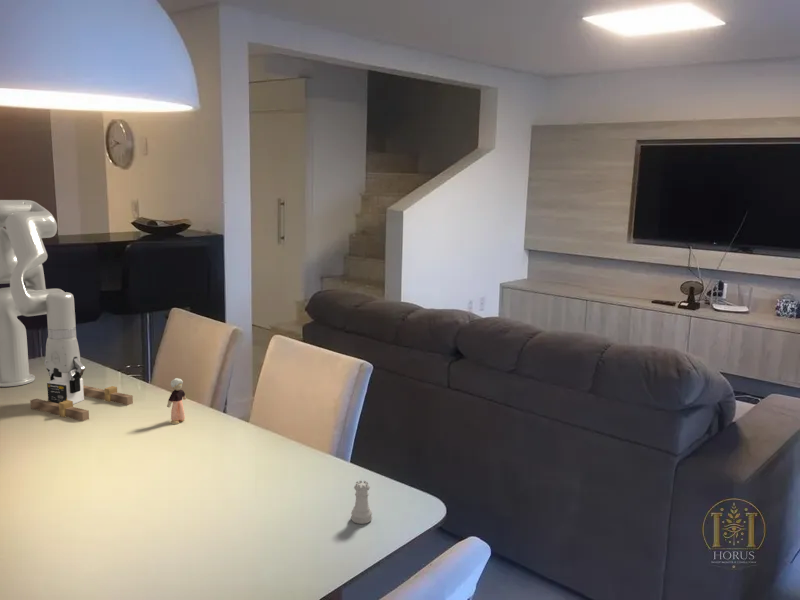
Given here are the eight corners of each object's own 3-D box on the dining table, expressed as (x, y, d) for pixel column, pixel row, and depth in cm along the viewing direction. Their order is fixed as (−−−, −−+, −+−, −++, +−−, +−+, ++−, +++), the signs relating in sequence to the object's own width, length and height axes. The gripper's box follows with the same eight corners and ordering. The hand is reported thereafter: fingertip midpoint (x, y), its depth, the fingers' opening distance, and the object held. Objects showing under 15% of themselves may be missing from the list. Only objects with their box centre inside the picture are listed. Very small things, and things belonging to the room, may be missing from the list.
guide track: (29, 408, 204) (28, 395, 203) (83, 392, 221) (82, 380, 220) (81, 421, 194) (80, 407, 194) (134, 403, 211) (133, 390, 211)
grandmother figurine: (178, 426, 192) (176, 382, 190) (165, 425, 193) (163, 381, 191) (190, 417, 200) (189, 374, 198) (178, 416, 201) (177, 374, 198)
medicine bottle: (47, 404, 208) (45, 365, 206) (65, 397, 215) (63, 360, 213) (67, 407, 206) (64, 368, 204) (84, 400, 213) (82, 362, 211)
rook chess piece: (360, 512, 145) (361, 476, 144) (376, 519, 142) (377, 482, 141) (346, 519, 142) (346, 483, 140) (362, 527, 139) (362, 489, 137)
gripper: (31, 332, 207) (35, 388, 210) (71, 339, 200) (75, 397, 203) (53, 328, 214) (56, 382, 217) (93, 334, 206) (96, 391, 209)
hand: (65, 389), depth 210 cm, fingers closed on medicine bottle, 7 cm apart
